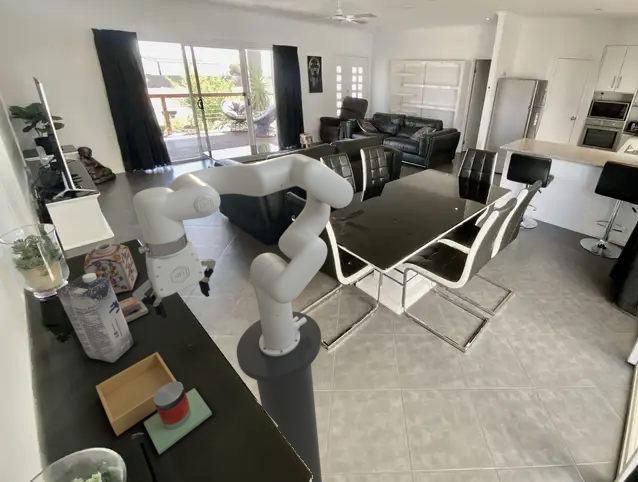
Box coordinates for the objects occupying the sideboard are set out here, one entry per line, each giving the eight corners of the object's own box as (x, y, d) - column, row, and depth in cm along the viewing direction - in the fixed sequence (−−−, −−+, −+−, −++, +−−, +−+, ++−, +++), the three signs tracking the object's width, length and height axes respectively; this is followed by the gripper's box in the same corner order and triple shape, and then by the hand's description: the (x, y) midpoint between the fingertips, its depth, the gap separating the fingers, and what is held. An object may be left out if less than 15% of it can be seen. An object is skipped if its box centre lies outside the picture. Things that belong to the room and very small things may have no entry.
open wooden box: (161, 363, 95) (157, 351, 93) (180, 393, 86) (176, 381, 84) (101, 398, 85) (95, 386, 83) (117, 436, 76) (110, 423, 74)
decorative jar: (104, 280, 129) (88, 242, 122) (138, 273, 134) (125, 236, 126) (94, 299, 119) (77, 258, 112) (132, 290, 124) (118, 251, 117)
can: (185, 400, 83) (177, 376, 80) (195, 416, 80) (187, 391, 76) (159, 418, 79) (149, 394, 76) (168, 435, 76) (158, 411, 72)
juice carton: (113, 367, 93) (80, 292, 82) (84, 360, 95) (47, 287, 84) (139, 342, 101) (112, 272, 90) (112, 337, 103) (82, 267, 92)
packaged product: (78, 332, 99) (72, 316, 105) (84, 343, 101) (77, 327, 107) (145, 302, 111) (136, 289, 117) (149, 313, 113) (140, 300, 119)
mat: (195, 390, 87) (194, 387, 87) (212, 414, 81) (211, 411, 81) (144, 424, 79) (143, 422, 78) (159, 454, 73) (158, 452, 72)
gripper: (125, 267, 62) (149, 333, 69) (214, 234, 74) (227, 293, 81) (114, 253, 67) (138, 316, 73) (200, 224, 79) (213, 281, 86)
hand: (185, 304), depth 77 cm, fingers open, 9 cm apart
